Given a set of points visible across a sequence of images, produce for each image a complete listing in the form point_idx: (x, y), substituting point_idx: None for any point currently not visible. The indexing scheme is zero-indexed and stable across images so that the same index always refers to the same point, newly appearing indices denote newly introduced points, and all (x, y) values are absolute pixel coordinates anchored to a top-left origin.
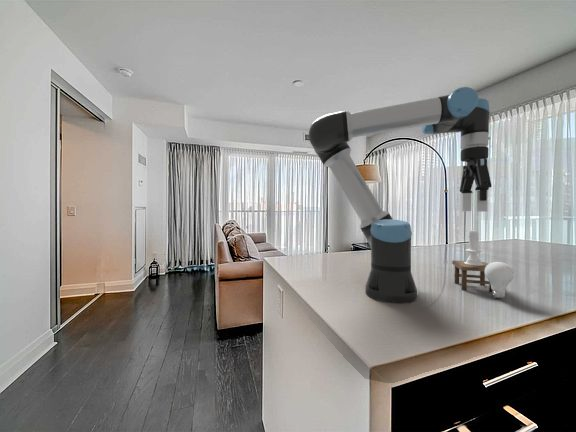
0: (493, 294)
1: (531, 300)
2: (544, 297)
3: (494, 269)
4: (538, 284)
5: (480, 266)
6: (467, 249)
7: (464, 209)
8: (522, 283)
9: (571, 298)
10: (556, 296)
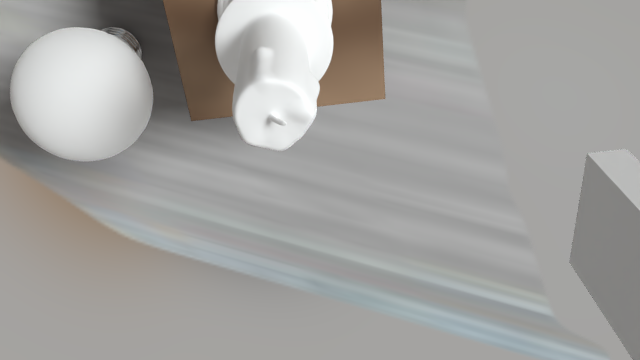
0: (104, 31)
1: (172, 160)
2: (245, 213)
3: (13, 76)
4: (455, 255)
5: (208, 38)
6: (281, 3)
7: (599, 198)
8: (453, 207)
9: (276, 282)
10: (282, 252)
